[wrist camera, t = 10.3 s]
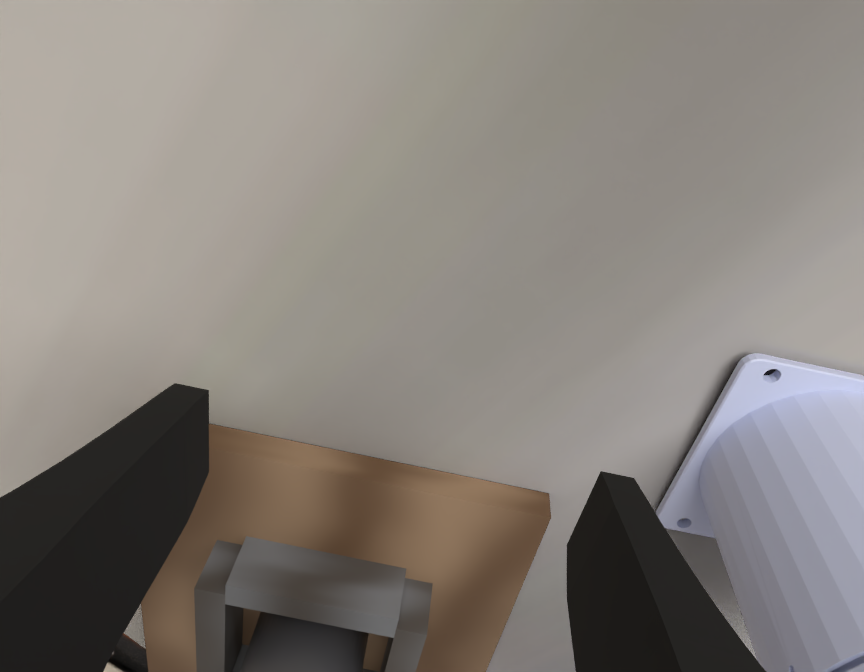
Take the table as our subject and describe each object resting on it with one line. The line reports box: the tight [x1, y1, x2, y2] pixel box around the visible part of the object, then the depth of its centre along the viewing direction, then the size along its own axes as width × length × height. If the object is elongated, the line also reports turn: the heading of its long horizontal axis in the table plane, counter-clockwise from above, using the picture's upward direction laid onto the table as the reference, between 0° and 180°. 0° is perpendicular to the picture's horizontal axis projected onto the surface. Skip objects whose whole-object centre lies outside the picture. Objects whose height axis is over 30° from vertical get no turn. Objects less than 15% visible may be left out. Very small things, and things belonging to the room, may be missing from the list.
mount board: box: [141, 424, 551, 672], centre depth 28 cm, size 16×18×4 cm
